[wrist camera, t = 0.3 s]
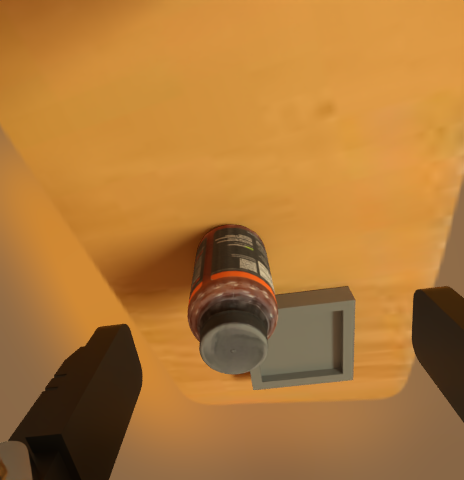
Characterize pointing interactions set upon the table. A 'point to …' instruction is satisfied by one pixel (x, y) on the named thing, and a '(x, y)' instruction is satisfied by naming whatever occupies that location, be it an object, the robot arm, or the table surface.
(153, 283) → the table surface
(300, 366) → the gray square tray
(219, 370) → the supplement bottle
